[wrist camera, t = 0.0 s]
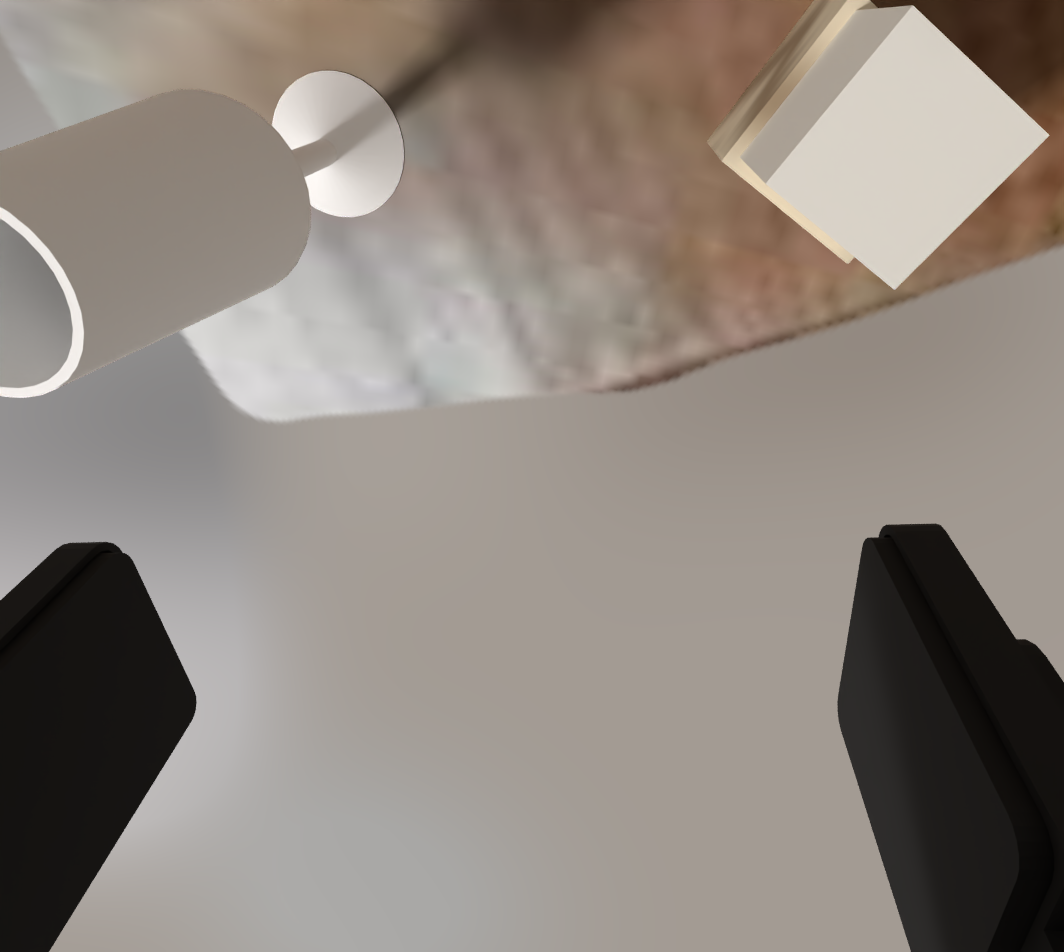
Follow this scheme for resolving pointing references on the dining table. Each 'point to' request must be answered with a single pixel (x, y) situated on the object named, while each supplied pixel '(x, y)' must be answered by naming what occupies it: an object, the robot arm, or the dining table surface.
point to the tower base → (770, 91)
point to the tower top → (891, 140)
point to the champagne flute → (173, 216)
